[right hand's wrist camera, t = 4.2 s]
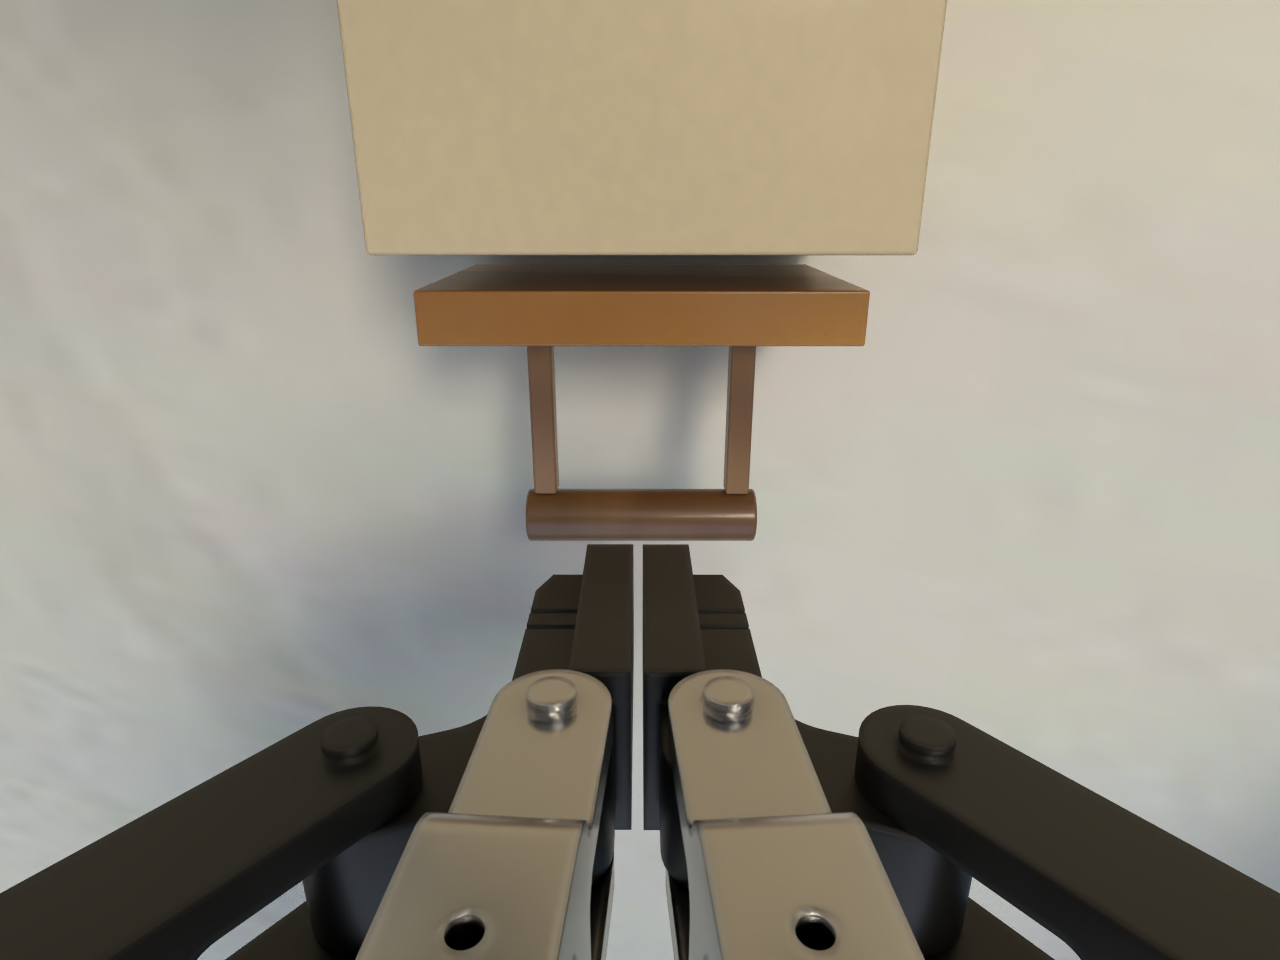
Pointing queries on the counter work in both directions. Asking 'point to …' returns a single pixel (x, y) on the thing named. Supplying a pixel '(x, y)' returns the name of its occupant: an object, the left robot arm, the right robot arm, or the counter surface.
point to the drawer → (641, 316)
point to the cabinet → (641, 125)
